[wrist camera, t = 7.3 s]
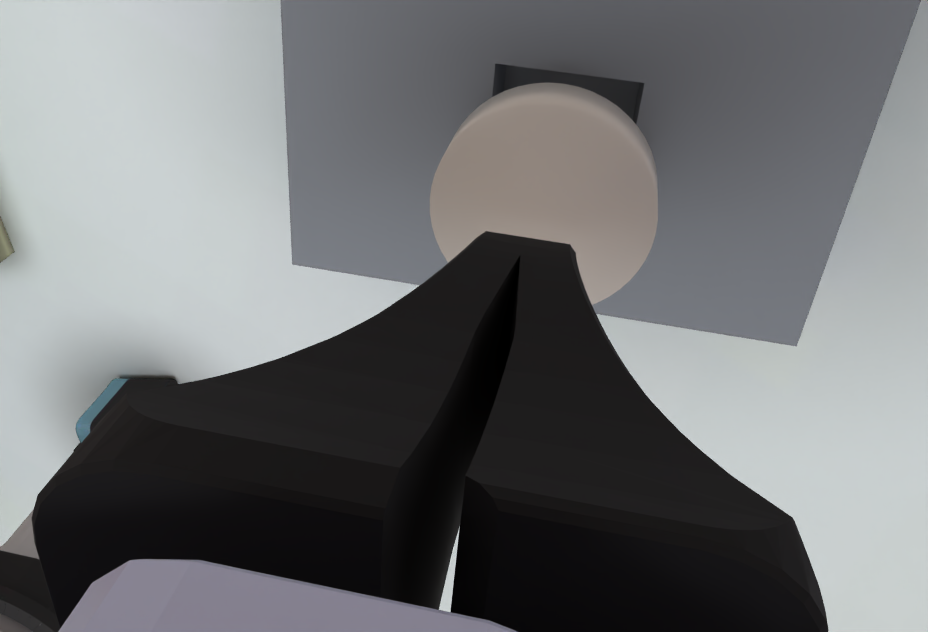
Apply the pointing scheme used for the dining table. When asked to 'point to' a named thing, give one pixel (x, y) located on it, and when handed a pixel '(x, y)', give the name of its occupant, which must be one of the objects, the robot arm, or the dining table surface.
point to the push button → (17, 562)
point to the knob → (551, 181)
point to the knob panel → (636, 93)
